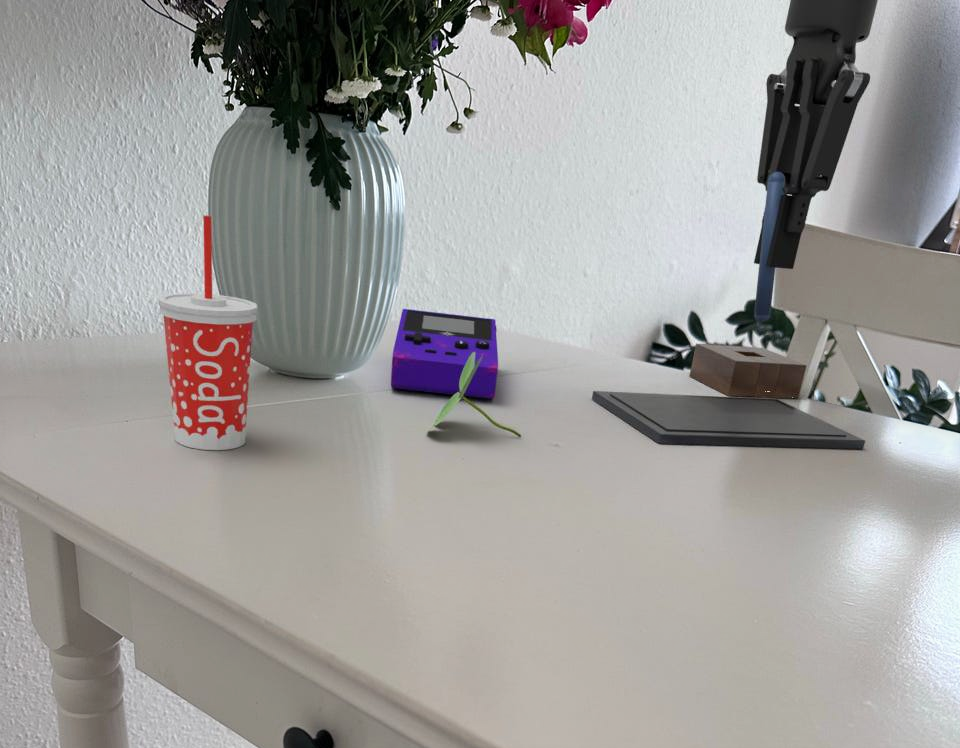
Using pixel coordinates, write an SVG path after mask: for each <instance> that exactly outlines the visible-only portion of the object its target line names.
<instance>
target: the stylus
mask: <svg viewBox="0 0 960 748" xmlns="http://www.w3.org/2000/svg"><path fill="white" fill-rule="evenodd" d="M782 187H785V176H784V175H783V174H782V173H781V172H774V173H772V174H771V175H770V177H769V179H768V185H767V191H766V195H765V205H764V211H765V214H764V213H763V216H764V224H763V234H762V243H761V253H760V263H759V264H758V272H757V283H756V292H755V293H756V294H755V303H754V312H753V317H754V319H755V320H756V321H757V322H758V323H764V322H765V323H766V322H767V321H768V320H769V319H770V317H771V312H772V304H773V294H774V284H775V276H776V268H774V267H767V266H766V262H767V258H768V254H769V249H770V245H771V240H772V236H773V232H774V228H775V224H776V219H777V215H778V210H779V206H780V201H781V196H782V195H784V194H783V193H782Z"/></svg>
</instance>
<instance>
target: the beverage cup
mask: <svg viewBox="0 0 960 748" xmlns="http://www.w3.org/2000/svg"><path fill="white" fill-rule="evenodd" d="M202 219H203V220H202V221H203V274H204V275H203V278H204V281H203V282H204V284H203V285H204V293H200V292H199V293H196V292H195V293H194V292H193V293H191V292H180V293H178V292H177V293H167V294H163V295H160V296H158V299H157V301H158V302H157V305H158V306H159V311H158V313H159V314H161V315H162V316H163V323H164V324H163V325H164V327H163V328H164V336H165V344H166V346H165V347H166V348H165V349H166V358H167V367H168V378H169V388H170V399H171V400H170V401H171V410H172V420H173V432H174V440H175V442H177V443H178V444H179V445H181V446H185V447H188V448H190V449H197V450H204V451H224V450H225V451H226V450H227V451H228V450H232V449H237V448H240V447H242V446H244V445H245V444H246V432H247V417H248V402H249V388H250V387H249V386H250V385H249V384H250V372H251V371H250V370H251V369H250V368H251V356H252V355H251V354H252V339H253V325H254V322H256V321H257V313H258V304H257V303H255V302H253V301H250V300H248V299H244V298H240V297H235V296H229V295H222V294H213V249H212V247H213V246H212V245H213V244H212V243H213V241H212V239H213V238H212V236H213V235H212V234H213V233H212V216H211V215H206V214H205V215H203V216H202Z"/></svg>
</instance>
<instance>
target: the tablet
mask: <svg viewBox="0 0 960 748" xmlns="http://www.w3.org/2000/svg"><path fill="white" fill-rule="evenodd" d="M591 400H592V401H593V402H595V403H596V404H598V405H600V406H602V407H603V408H605V409H606V410H608V411H609V412H610V413H612V414H614V415H615V416H616V417H618V418H620V419H621V420H623V421H624V422H625V423H627V424H628V425H630V426H631V427H633V428H634V429H636V430H637V431H639V432H641V433H642V434H644V435H645V436H646V437H648V438H650V439H651V440H653V441H654V442H656V443H657V444H659V445H691V446H693V445H695V446H728V447H729V446H730V447H731V446H732V447H733V446H734V447H763V448H765V447H767V448H768V447H769V448H800V449H801V448H802V449H838V450H839V449H840V450H863V449H864V448H865V444H866V440H865V439H863V438H861V437H859V436H856V435H854V434H852V433H851V432H848V431H846V430H844V429H842V428H839V427H838V426H835V425H833V424H831V423H829V422H827V421H825V420H823V419H820V418H818V417H816V416H814V415H813V414H810V413H807V412H805V411H803V410H801V409H799V408H797V407H795V406H793V405H790V404H789V403H787V402H784V401H782V400H781V399H779V398H762V397H740V396H717V395H716V396H714V395H695V394H694V395H693V394H692V395H691V394H672V393H671V394H669V393H650V392H649V393H648V392H646V393H645V392H627V391H607V390H606V391H605V390H604V391H603V390H602V391H601V390H592V397H591Z"/></svg>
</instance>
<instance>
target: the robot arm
mask: <svg viewBox="0 0 960 748" xmlns="http://www.w3.org/2000/svg"><path fill="white" fill-rule="evenodd" d="M878 2H879V0H790V1H789V5H788V11H787V15H786V20H785V25H784V31H785V33H786V35H788V36H789V37H792V39H793V44H792V47H791V51H790V53H789V54H788V56H787V59H786V63H785V68H784V69H783V70H782V71H781V72H780V73H779V74H777V73H770V74H769V75H768V76H767V78H766V82H765V83H766V84H765V86H766V97H767V98H766V101H767V102H766V107H765V116H764V124H763V130H762V131H763V132H762V140H761V148H760V154H759V162H758V167H757V168H758V169H757V176H756V178H757V179H756V181H757V183H758V184H761V185H763V186H764V187H765V188H764V189H765V191H766V192H767V185H768V179H769V177H770V175H771V174H772V173H774V172H781V173H782V174H783V175H784V176H785V187H782V193H783V194H784V195H782V196H781V201H780V206H779V210H778V215H777V219H776V224H775V228H774V232H773V236H772V240H771V245H770V249H769V254H768V258H767V262H766V266H767V267H774V268H775V269H776V268H777V269H785V270H794V267H795V264H796V263H795V262H796V258H797V255H798V249H799V246H800V241H801V238H802V234H803V231H804V229H805V226H806V223H807V222H806V221H807V218H808V214H809V209H810V205H811V201H812V199H813V198H815V197H816V195H817V194H818V193H820V192H827V191H829V189H830V187H831V185H832V181H833V179H834V176H835V173H836V170H837V167H838V164H839V161H840V159H841V155H842V152H843V149H844V146H845V143H846V140H847V138H848V135H849V132H850V128H851V125H852V123H853V119H854V117H855V113H856V112H857V111H856V110H857V107H858V104H859V103H860V100H861V99H862V97H863V96H864V93H865V92H866V90H867V88H868V86H869V84H870V81H871V75H870V73H869V72H865V71H864V72H863V71H860V70H859V69H858V68H857V66H856V65H855V63H856V59H857V52H856V51H857V50H856V47H857V44H858V43H861V42H864V41H866V40H867V39H868V38H869V36H870V34H871V29H872V26H873V23H874V22H873V21H874V17H875V14H876V10H877V5H878ZM764 214H765V210H763V215H762V220H761V228H760V233H759V237H758V238H759V239H758V242H757V246H756V251H755V256H754V260H753V264H756V265H759V263H760V253H761V243H762V234H763V224H764Z"/></svg>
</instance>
